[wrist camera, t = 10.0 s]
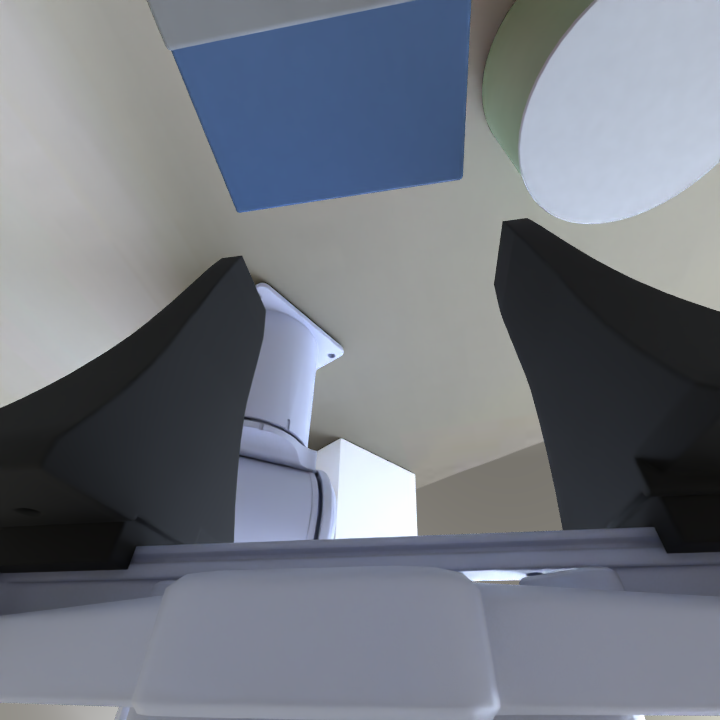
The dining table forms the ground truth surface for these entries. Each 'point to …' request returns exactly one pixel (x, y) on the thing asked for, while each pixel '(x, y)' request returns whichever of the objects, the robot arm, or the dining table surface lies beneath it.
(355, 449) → the milk
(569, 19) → the green yogurt
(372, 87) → the block
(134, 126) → the dining table surface
